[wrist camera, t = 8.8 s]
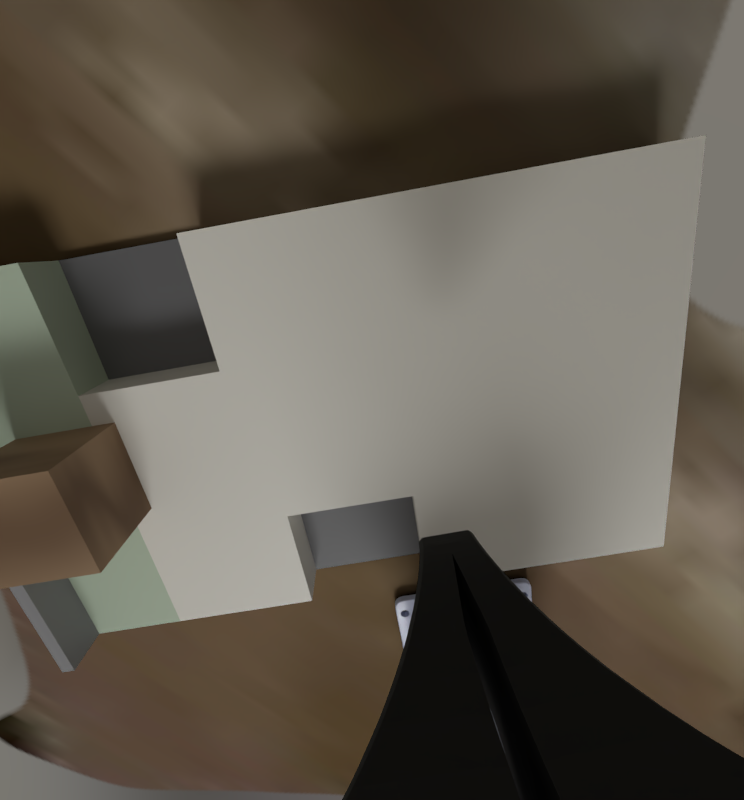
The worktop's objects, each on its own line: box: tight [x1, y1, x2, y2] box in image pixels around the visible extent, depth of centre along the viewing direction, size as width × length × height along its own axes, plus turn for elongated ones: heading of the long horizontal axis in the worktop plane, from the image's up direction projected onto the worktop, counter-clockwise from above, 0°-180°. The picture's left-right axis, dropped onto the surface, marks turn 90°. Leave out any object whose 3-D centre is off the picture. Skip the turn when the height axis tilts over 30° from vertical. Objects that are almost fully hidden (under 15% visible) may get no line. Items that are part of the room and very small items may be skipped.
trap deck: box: [0, 135, 706, 672], centre depth 18 cm, size 18×30×4 cm, turn 100°
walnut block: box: [0, 422, 152, 589], centre depth 16 cm, size 4×4×4 cm
